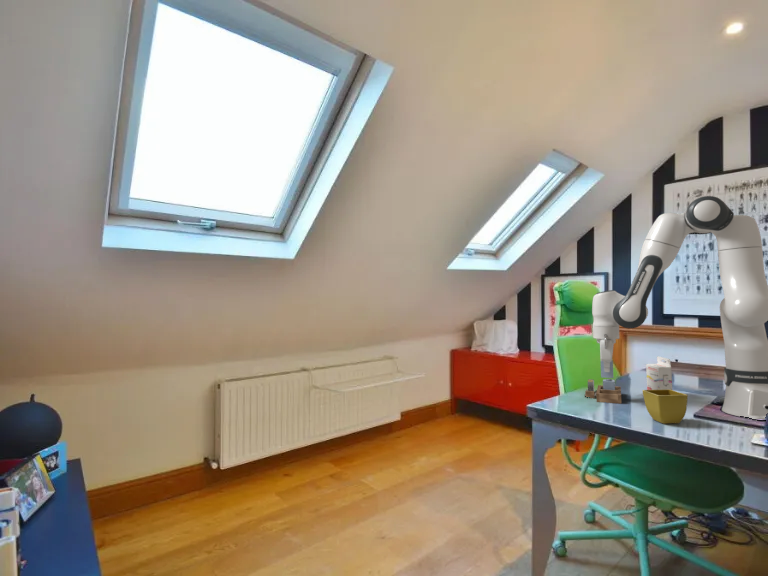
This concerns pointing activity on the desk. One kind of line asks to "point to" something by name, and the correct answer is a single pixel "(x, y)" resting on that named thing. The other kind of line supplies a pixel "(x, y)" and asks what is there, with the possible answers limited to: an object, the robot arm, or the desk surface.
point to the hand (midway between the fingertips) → (607, 370)
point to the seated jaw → (608, 384)
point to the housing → (605, 395)
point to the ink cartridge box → (659, 375)
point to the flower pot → (665, 405)
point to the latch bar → (590, 385)
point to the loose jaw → (607, 374)
